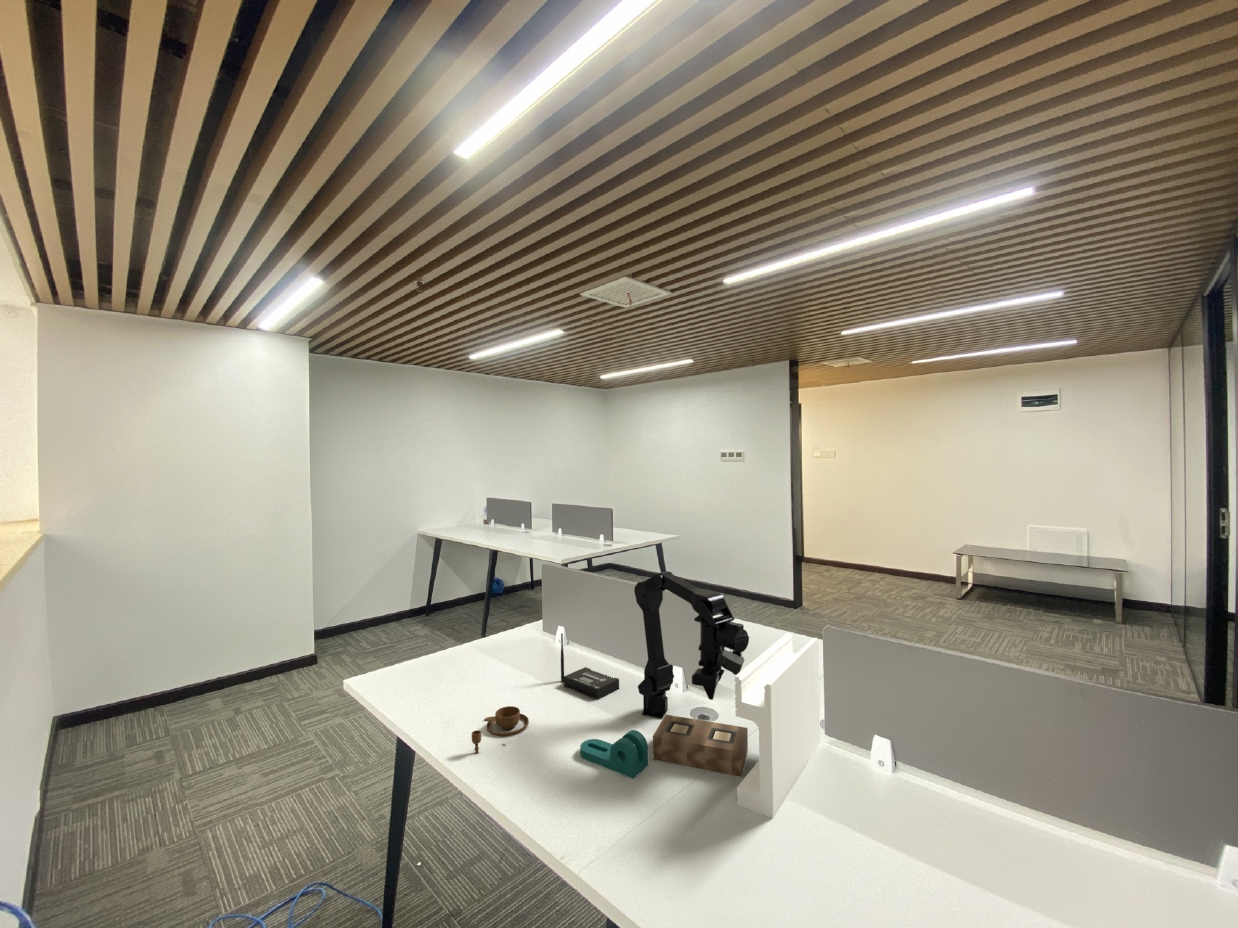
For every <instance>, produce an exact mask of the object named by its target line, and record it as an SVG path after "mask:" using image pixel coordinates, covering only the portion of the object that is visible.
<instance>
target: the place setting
mask: <svg viewBox="0 0 1238 928" xmlns="http://www.w3.org/2000/svg"><path fill="white" fill-rule="evenodd" d="M483 720H484V721H485V722H487V723H486V730H487V732H488V733H489V734H491V735H492V736H494V737H500V738H501V737H502V738H503V737H504V738H505V737H513V736H516V735H519V734H521V733H522V732H524V731H525V730H526V729H527V728H528V725H529V724H530V723H529V720H530V719H529V718H528V716H527V715H525V714H523V713H521V709H519V708H518V707H517V706H512V705H511V706H503V707H500V708H498V709H497V710H495V716H487V717H485V718H484V719H483ZM520 721H523V722H524V724H525V725H523V727H521V728H519V729H517V730H514V731H509V732H497V731H494V730H491V726H492V725H493V724H496V726H497V727H499V728H500V729H501V730H503V731H508V730H512V729H513V728H515V726H517V725H518V724H519V722H520ZM481 741H482V731H481V730H480V729H478V730H473V731H472V732H471V742H472V743H473V745H474V751H475V752H474V755H478V754H479V753H480V752H479V744H480V743H481ZM502 746H504V747H506V746H507V745H506V744H505V743H502Z"/></svg>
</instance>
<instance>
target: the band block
mask: <svg viewBox="0 0 1238 928" xmlns="http://www.w3.org/2000/svg"><path fill="white" fill-rule="evenodd" d="M674 724H678V725H684V726H689V731H688V733H687V734H681V733H676V732H670V731H671V729H672V727H673V725H674ZM748 730H749V729H748V727H744V726H739V725H732V724H727V723H726V724H725V723H720V722H715V721H714V722H713V721H708V720H704V719H703V720H701V719H696V718H689V717H683V716H677V715H672V714H665V715H664V716H663V718H662V720H661V722H659V725H658V726H657V729H656V730H655V731H654V733H653V734H652V760H653V761H656V762H662V763H668V764H673V765H677V766H678V765H679V766H683V767H688V768H693V769H697V770H703V771H707V772H713V773H718V774H724V775H727V776H732V777H733V776H734V777H736V778H737V777H738V778H743V777H742V776H743V773H744V770H745V769H744V768H745V765H746V760H747V757H748V753H749V742H748V741H749V740H748V736H749V735H748ZM716 731H720V732H725V733H731V737H732V738H731V741H730V742H727V741H721V740H715V739H713V737H714V734H715V732H716Z"/></svg>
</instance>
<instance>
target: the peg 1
mask: <svg viewBox="0 0 1238 928" xmlns="http://www.w3.org/2000/svg"><path fill="white" fill-rule="evenodd" d="M688 731H689V726H684V725H678V724H674V725H673V727H672V729H671V731H670V732H676V733H681V734H687V733H688Z"/></svg>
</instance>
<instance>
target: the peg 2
mask: <svg viewBox="0 0 1238 928" xmlns="http://www.w3.org/2000/svg"><path fill="white" fill-rule="evenodd" d="M731 738H732V737H731V733H725V732H720V731H716V732H715V734H714V737H713V739H715V740H721V741H727V742H730V741H731Z"/></svg>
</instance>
